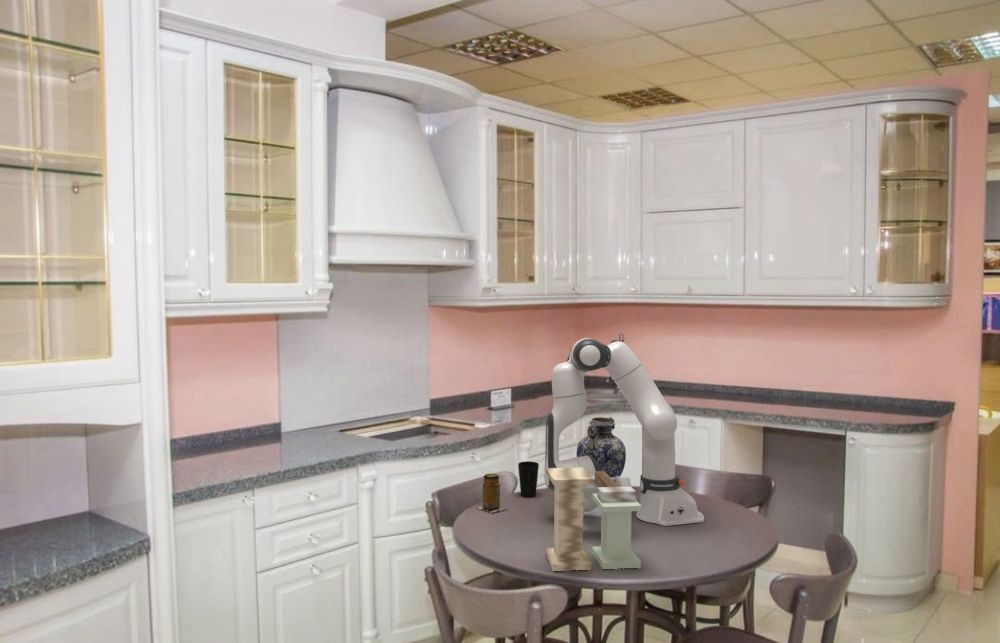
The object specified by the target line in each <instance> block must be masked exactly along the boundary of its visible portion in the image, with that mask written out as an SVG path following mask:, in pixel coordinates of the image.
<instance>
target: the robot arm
mask: <svg viewBox="0 0 1000 643" xmlns="http://www.w3.org/2000/svg"><path fill="white" fill-rule="evenodd" d="M600 369H605V371H607V373H608V374H609V376H610V377H611V378H612V380H613V382H614V383H615V385H616V386H617V388H618V389H619V391H620V393H621V394H622V395H623V398H625V400H626V402H627V403H628V405H629V407H630V408H631V410H632V412H633V413H634V415H635V417H636V419H637V420H638V421H639V423H640V425H641V475H640V478H639V479H640V480H639V491H640V497H639V502H638V503H639V504H640V505H641V506H642V511H636V513H635V514H636V517H637V519H639V520H641V521H643V522H647V523H653V524H658V525H659V526H665V527H668V526H678V525H685V524H686V525H687V524H688V525H689V524H695V523H703V522H704V521H705V516H704V514H703V513H702V512H701V511H699V510H698V505H697V502H696V499H694V498H693V496H691V495H690V494H689V493H688V492H687V491H685V490H684V489H682V488H681V487H684V486H686V481H685V480H684V479H682V478H679V477H677V476H676V441H675V439H676V437H675V436H676V430H677V428H678V420H677V417H676V414H675V412H674V409H673V408H672V406H671V405H670V404H668V402H667V401H666V399H665V398H664V396H663V395H662V393H661V391H660V390H659V388H658V387H657V385H656V383H655V381H654V380H653V378H652V377H651V375H650V374H649V372H648V371H647V370H646V368H645V366H644V364H643V363H642V362H641V361H640V359H639V357H638V356H637V355H636V354H635V353H634V351H633V350H632V349H631V347H630V346H628V345H627V344H626V342H624V341H619V340H618V341H614V342H611V343H609V344H607V345H605V344H603V343H602V342H601V341H598V340H596V339H593V338H590V337H585V338H581V339H578V340H577V341H576V342H575V343H574V344H572V346H571V348H570V352H569V354H568V356H567V359H566V361H565V362H561V363H558V364H557V365H555V366H554V367H553V368H552V369H551V370H552V371H551V389H552V390H551V392H552V397H553V398H552V399H553V406H552V410H551V412H550V413H549V414H547V417H546V421H545V442H544V443H545V449H544V450H545V451H544V452H545V453H544V455H545V456H544V457H545V458H544V460H545V461H544V471H543V472H544V473H543V478H544V482H545V483H544V484H545V486H546V487H547V488H548V489H549V490H551V492H552V491H553V492H554V485H553V483H552V482H551V480H550V479H549V477H548V476H547V474H546V468H577V467H583V468H584V469H585V470H586V472H587V473H588V474H589V475H590V476H591V477H592V478H593V484H588V485H583V513H584V512H585V513H590V512H592V511H594V510H595V509H597V508H599V506H598V505H597V504H596V503H595V501H594V500H593V494H597V487H600V486H599V485H598V484H597V483H596V482H595V471H601V470H600V467H599V465H598V463H597V462H596V461H595V460H594V459H593V458H592V457H590V456H588V455H587V456H581V457H577V456H575V457H574V458H573V457H572V458H569V459H568V458H567V459H563V460H560V459H559V458H560V456H559V450H560V449H559V446H560V444H559V443H560V442H559V441H560V440H559V439H560V435H561V433H562V432H563V431H564V430H565V429H566V428H568V427H570V426H571V425H572V424H574V423H575V422H577V421H578V420H580V419H581V418H582V417H583V416H584V414H585V413H586V411H587V407H588V406H587V405H588V402H587V395H586V388H585V382H584V381H585V375H586V374H587V373H589V372H592V371H597V370H600ZM611 479H612V480H613V481H614V482H615V483H616V484H617V485H618V486H619V487H628V486H631V487H632V485H631V479H630V477H628V476H627V477H626V476H622V477H621V476H616V477H614V478H611Z"/></svg>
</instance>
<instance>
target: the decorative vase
mask: <svg viewBox="0 0 1000 643" xmlns="http://www.w3.org/2000/svg"><path fill="white" fill-rule="evenodd" d="M615 425H616V423H615V419H614V418H613V417H611V416H609V417H598V416H597V417H593V418H591V420H590V421H589V425H588V426H587V429H586V430H587V431H586V432H587V433H586V434H587V435H585V436H584V437H582V438H581V439H580V441H579V442H578V444H577V447H576V457H581V456H587V455H588V456H590V457H592V458H593V459H594V460H595V461H596V462H597V463H598V465H599V467H600V470H601V471H605V472H606V473H607V475H608V476H609V477H610V478H614V477H616V476H620V477H621V476H622V474H623V472H624V469H625V466H626V461H627V460H626V459H627V451H626V446H625V444H624V441H623V440H622V439H620V438H619V437H617V435H614V434H613V433H612V432H613V430H615V429H616V428H615V427H616V426H615Z"/></svg>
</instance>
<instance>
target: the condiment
mask: <svg viewBox="0 0 1000 643" xmlns="http://www.w3.org/2000/svg"><path fill="white" fill-rule="evenodd" d="M499 478H500V476H499V474H497V473H485V474H484V475H483V482H482V506H478V507H477V509H479V510H481V511H484V512H487V513H491V514H496V513H495V512H494V513H493V512H491V511H493V510H497V509H499V507H501V506H500V505H501V503H500V501H501V500H500V498H501V496H500V495H501V492H500V491H501V490H500V489H501V483H500V479H499ZM481 507H483V509H484V510H482V508H481ZM486 510H488V511H486ZM499 510H500V509H499Z"/></svg>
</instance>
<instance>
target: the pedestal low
mask: <svg viewBox="0 0 1000 643" xmlns="http://www.w3.org/2000/svg"><path fill="white" fill-rule="evenodd" d="M593 500H594V501H595V503H596V504H597V505H598V508H599V509H600V511H601V514H600V515H601V519H600V520H601V525H600V528H601V529H600V530H601V532H600V535H601V536H600V539H601V540H600V545H599V546H591V555H592V556H593V555H594V556H593V557H594V559H595V558H596V559H595V561H596V560H597V561H598V562H597V561H596V562H597V564H598V563H599V564H600V565H599V564H598V565H599V567H600V566H601V567H602V568H601V567H600V568H601V570H602V569H614V570H621V569H620V568H623V569H622V570H625V569H624V568H638V569H641V568H642V566H641V565H642V564H641V563H642V561H641V560H640V558H639V557H638V556H637V554H635V552H634V551H633V550H632V512H637V511H642V506H641V505H640V504H639V503H640V502H639V501H637V500H636V502H605V503H601V501H600V500H599V499H598V498H597V494H593ZM618 568H619V569H618Z"/></svg>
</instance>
